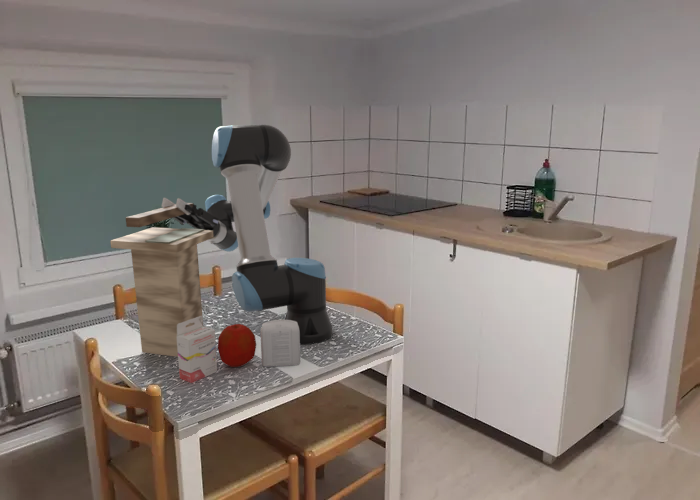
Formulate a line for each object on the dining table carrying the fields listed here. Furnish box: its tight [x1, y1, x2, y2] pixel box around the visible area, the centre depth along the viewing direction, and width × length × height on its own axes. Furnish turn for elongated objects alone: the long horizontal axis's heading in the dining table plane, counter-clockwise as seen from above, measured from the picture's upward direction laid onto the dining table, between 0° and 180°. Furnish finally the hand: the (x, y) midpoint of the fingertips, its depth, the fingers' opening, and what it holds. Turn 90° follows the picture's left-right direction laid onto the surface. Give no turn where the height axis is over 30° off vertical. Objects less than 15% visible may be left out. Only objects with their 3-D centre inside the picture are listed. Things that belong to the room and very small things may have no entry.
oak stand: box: [110, 226, 214, 358], centre depth 157 cm, size 18×20×33 cm
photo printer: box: [260, 319, 301, 367], centre depth 149 cm, size 10×4×12 cm, turn 98°
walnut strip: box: [125, 202, 195, 228], centre depth 159 cm, size 26×4×2 cm, turn 163°
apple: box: [217, 323, 257, 368], centre depth 149 cm, size 10×10×12 cm
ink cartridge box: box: [177, 316, 218, 384], centre depth 142 cm, size 9×5×15 cm, turn 144°
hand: (170, 202), depth 162 cm, fingers closed on walnut strip, 4 cm apart
